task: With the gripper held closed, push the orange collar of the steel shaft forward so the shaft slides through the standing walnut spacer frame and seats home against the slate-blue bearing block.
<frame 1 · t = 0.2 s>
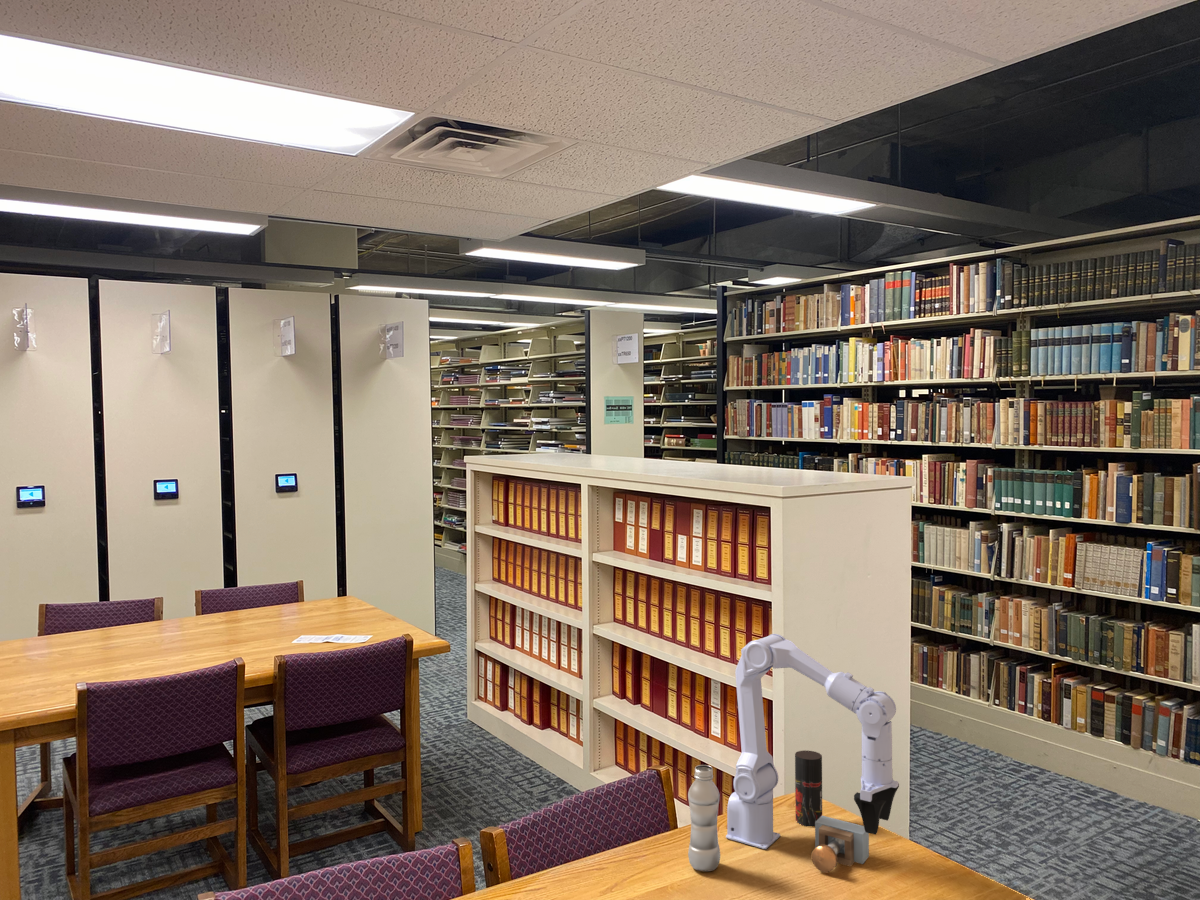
hand: (877, 825, 162), 10 cm above the table, tool pointing down, fingers open, 7 cm apart
shaft: (832, 849, 168), point 3 cm above the table, slide at 5.0 cm
spacer: (836, 860, 169), on the table
bearing block: (841, 853, 172), on the table
deodorant: (808, 822, 188), on the table
plastic bottle: (704, 868, 166), on the table
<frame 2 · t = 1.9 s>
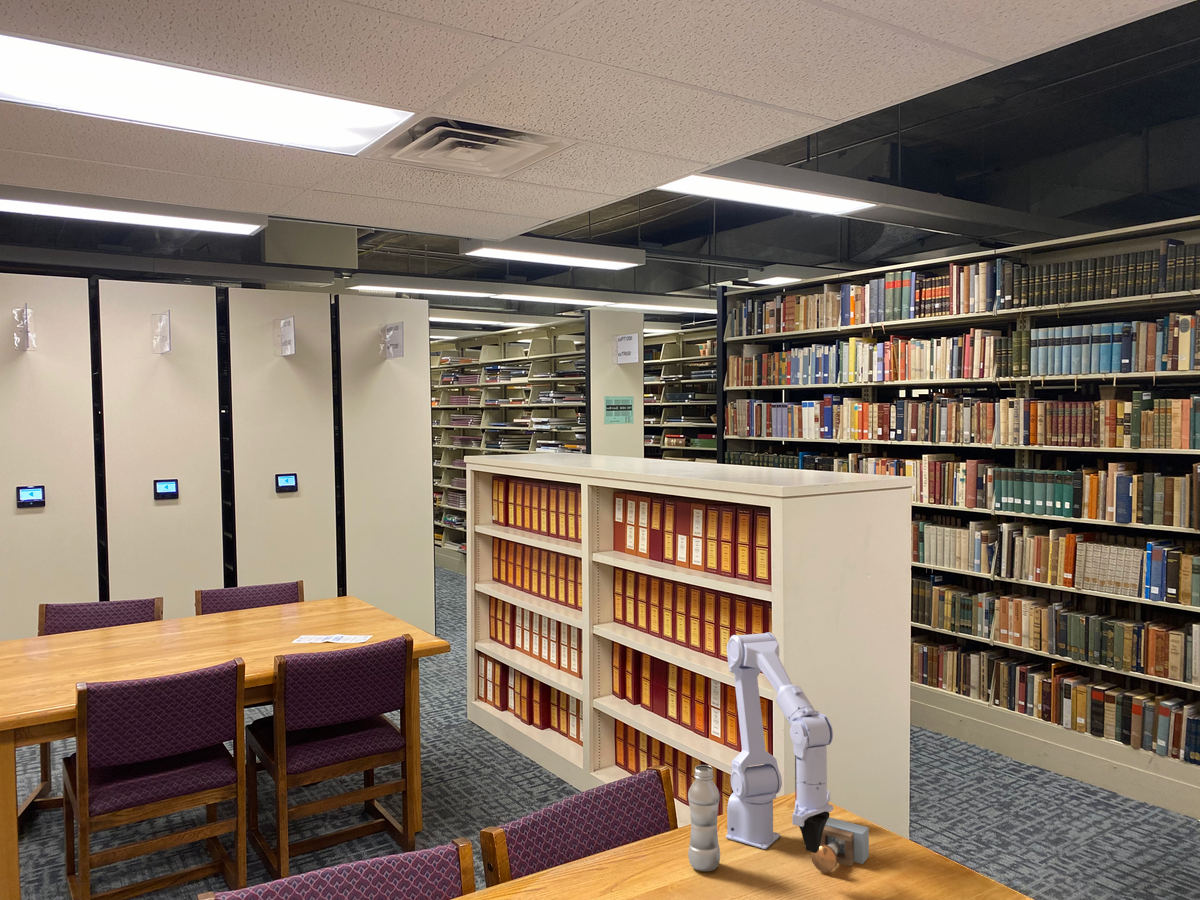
hand: (812, 850, 159), 7 cm above the table, tool pointing down, fingers closed
nothing on the table moved.
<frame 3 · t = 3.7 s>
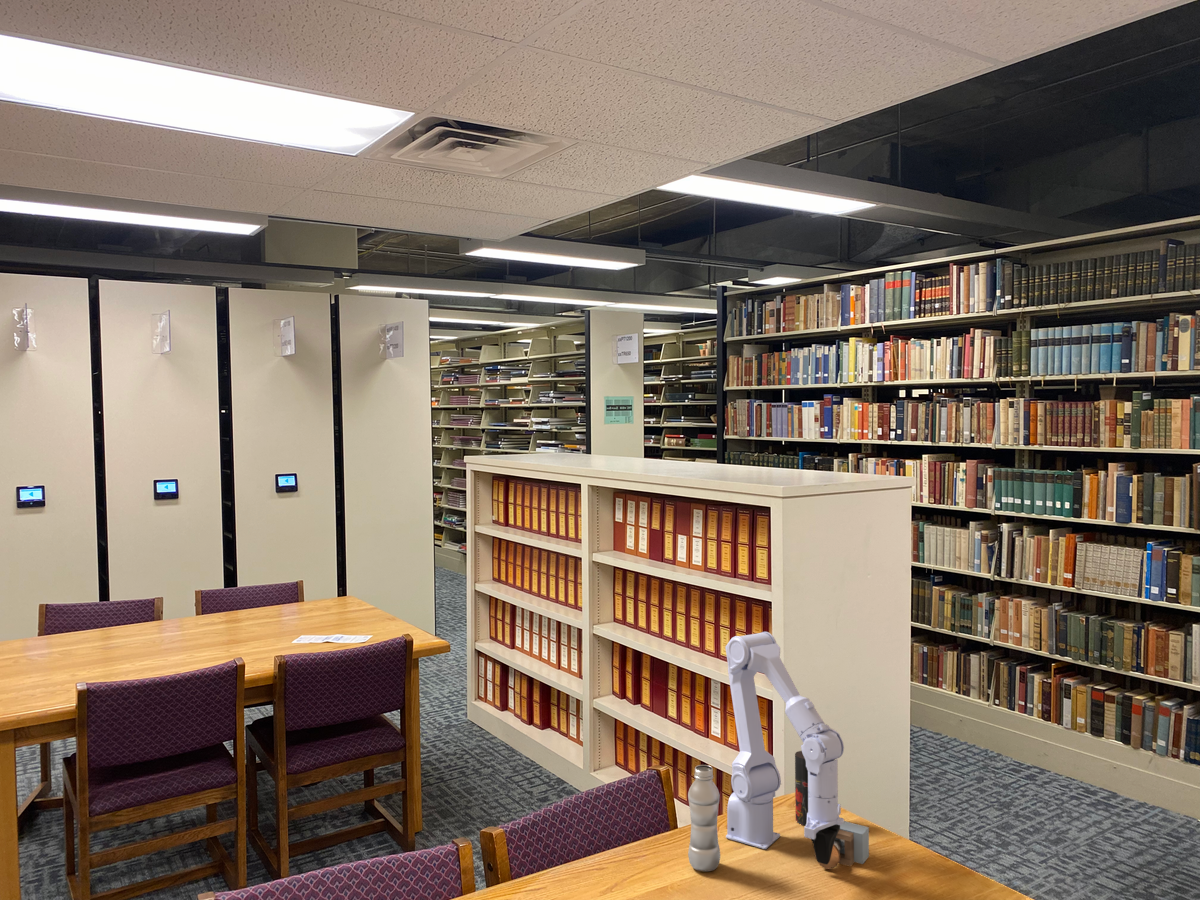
hand: (823, 861, 163), 2 cm above the table, tool pointing down, fingers closed
shaft: (835, 846, 169), point 3 cm above the table, slide at 3.3 cm, touching gripper
everything else where it was.
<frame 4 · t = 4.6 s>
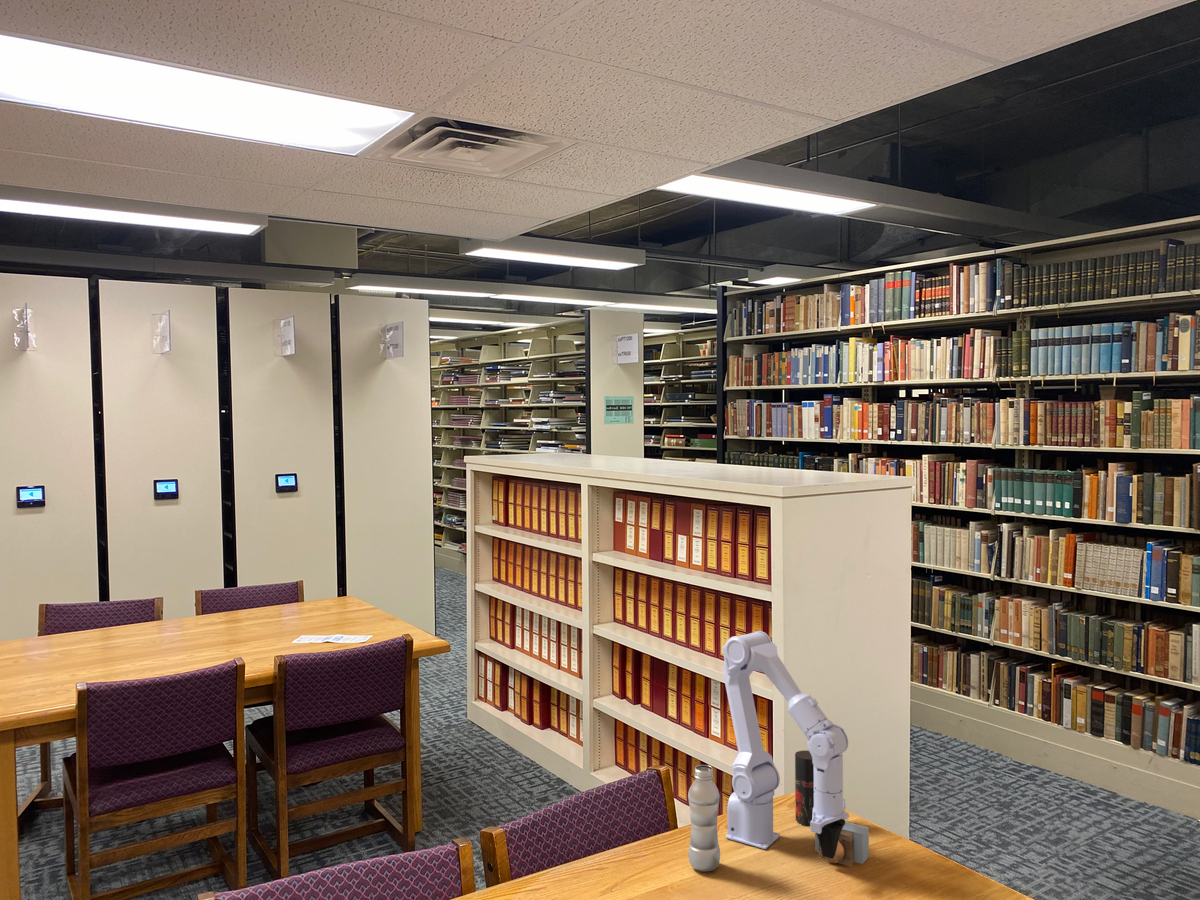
hand: (828, 856, 166), 2 cm above the table, tool pointing down, fingers closed
shaft: (840, 840, 172), point 3 cm above the table, slide at 0.3 cm, touching gripper
everything else where it was.
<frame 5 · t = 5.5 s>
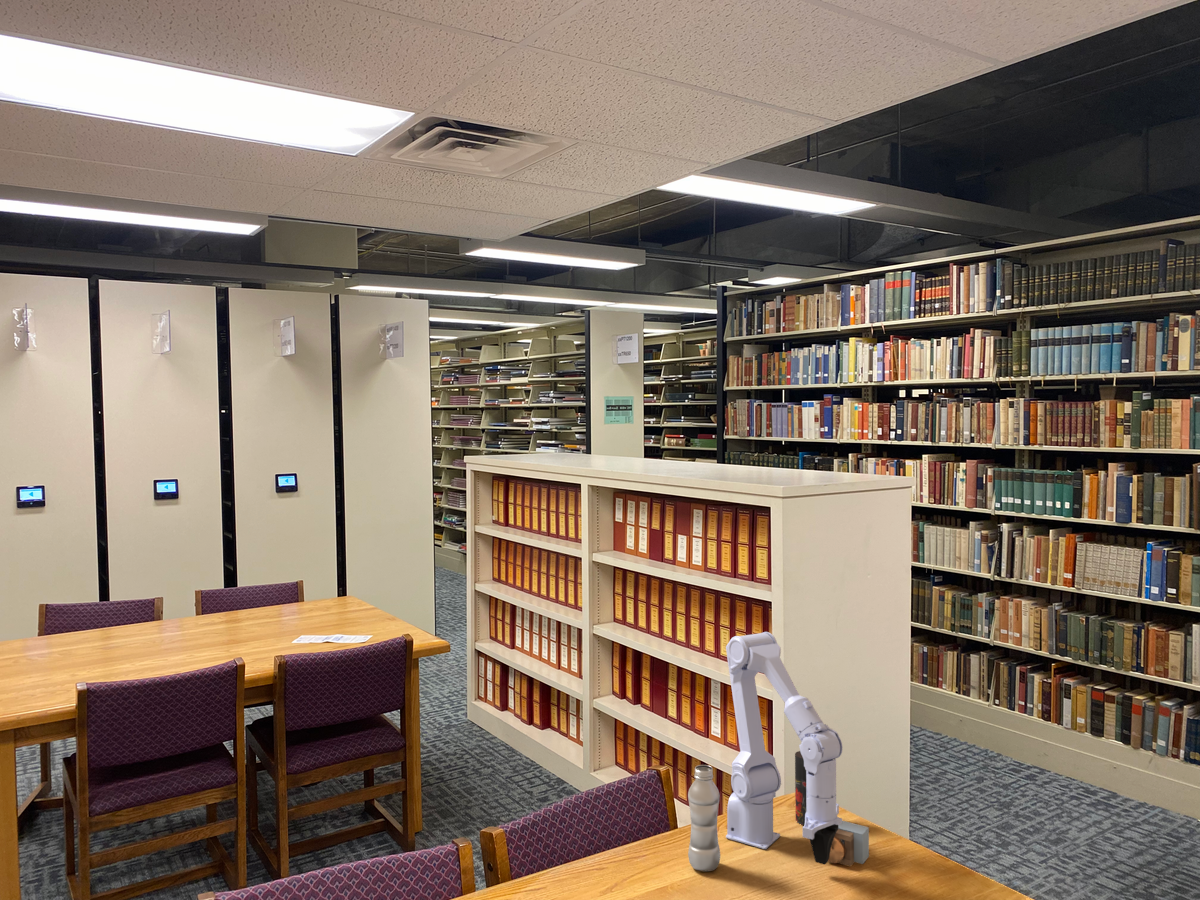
hand: (821, 862, 163), 3 cm above the table, tool pointing down, fingers closed
shaft: (840, 840, 172), point 3 cm above the table, slide at 0.3 cm
everything else where it was.
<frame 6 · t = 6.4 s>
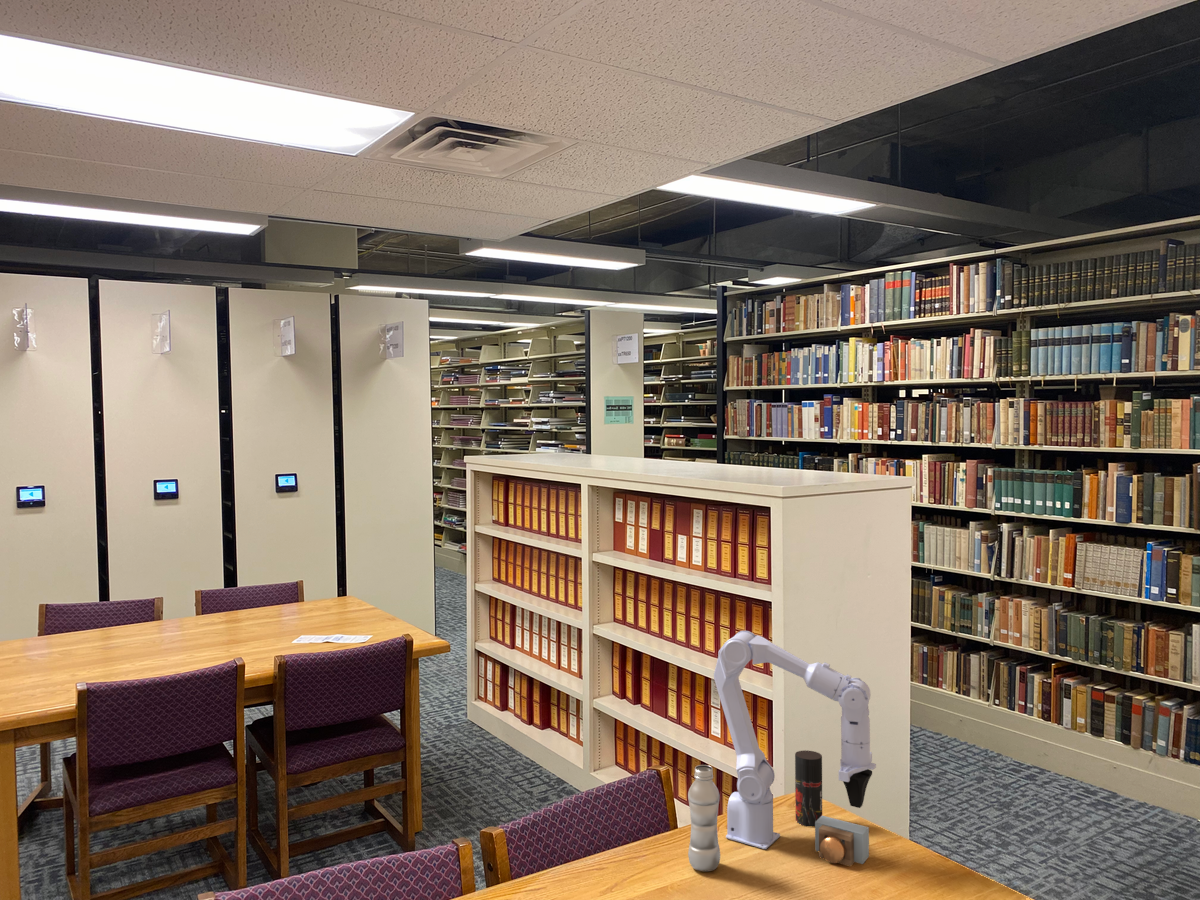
hand: (856, 805, 171), 10 cm above the table, tool pointing down, fingers closed
nothing on the table moved.
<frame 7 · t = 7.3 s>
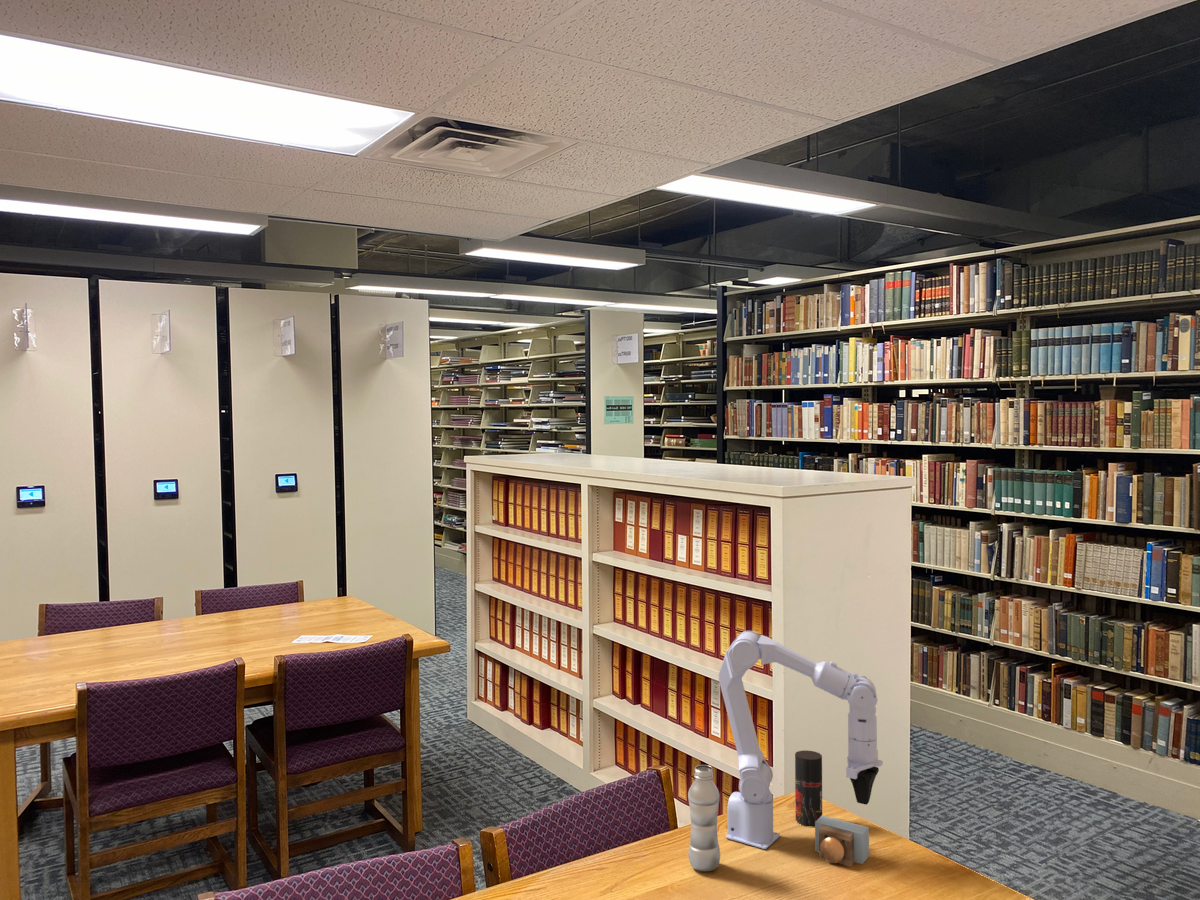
hand: (862, 802, 173), 10 cm above the table, tool pointing down, fingers closed
nothing on the table moved.
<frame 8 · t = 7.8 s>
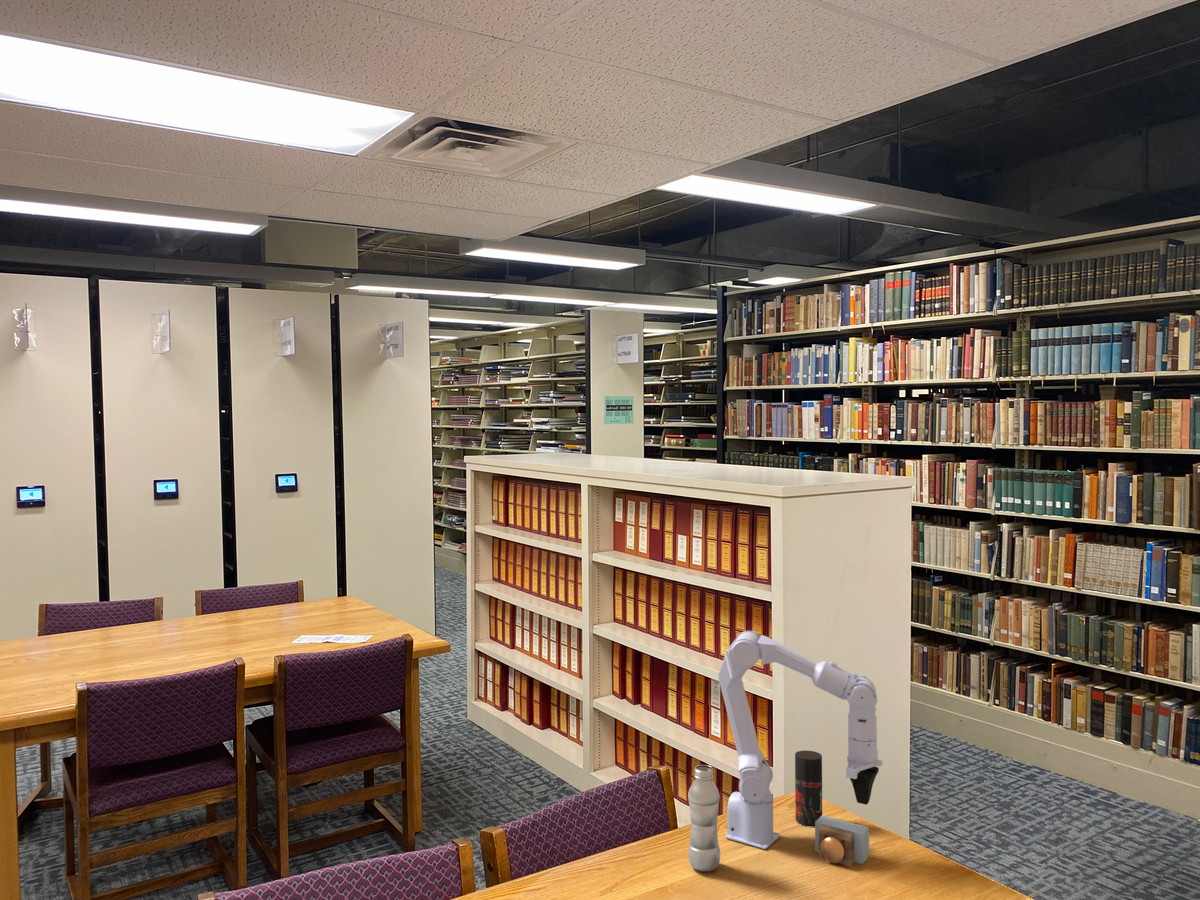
hand: (862, 802, 173), 10 cm above the table, tool pointing down, fingers closed
nothing on the table moved.
at the end: shaft slide at 0.3 cm; spacer tilted 0°; spacer 0.0 cm from the target spot on the table beside the bearing block, on the table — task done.
